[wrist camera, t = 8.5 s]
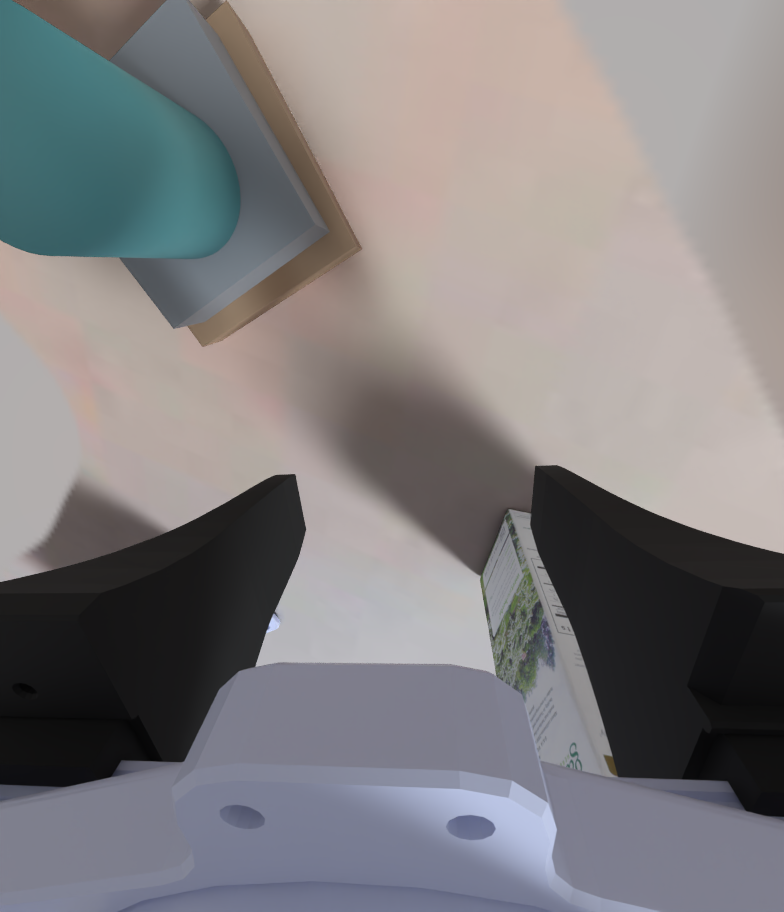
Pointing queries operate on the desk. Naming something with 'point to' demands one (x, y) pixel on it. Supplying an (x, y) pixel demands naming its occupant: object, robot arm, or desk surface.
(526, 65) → the desk surface
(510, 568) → the syrup box
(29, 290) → the desk surface
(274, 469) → the desk surface
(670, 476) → the desk surface
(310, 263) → the walnut slab
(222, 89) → the grey slab
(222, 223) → the teal capsule
